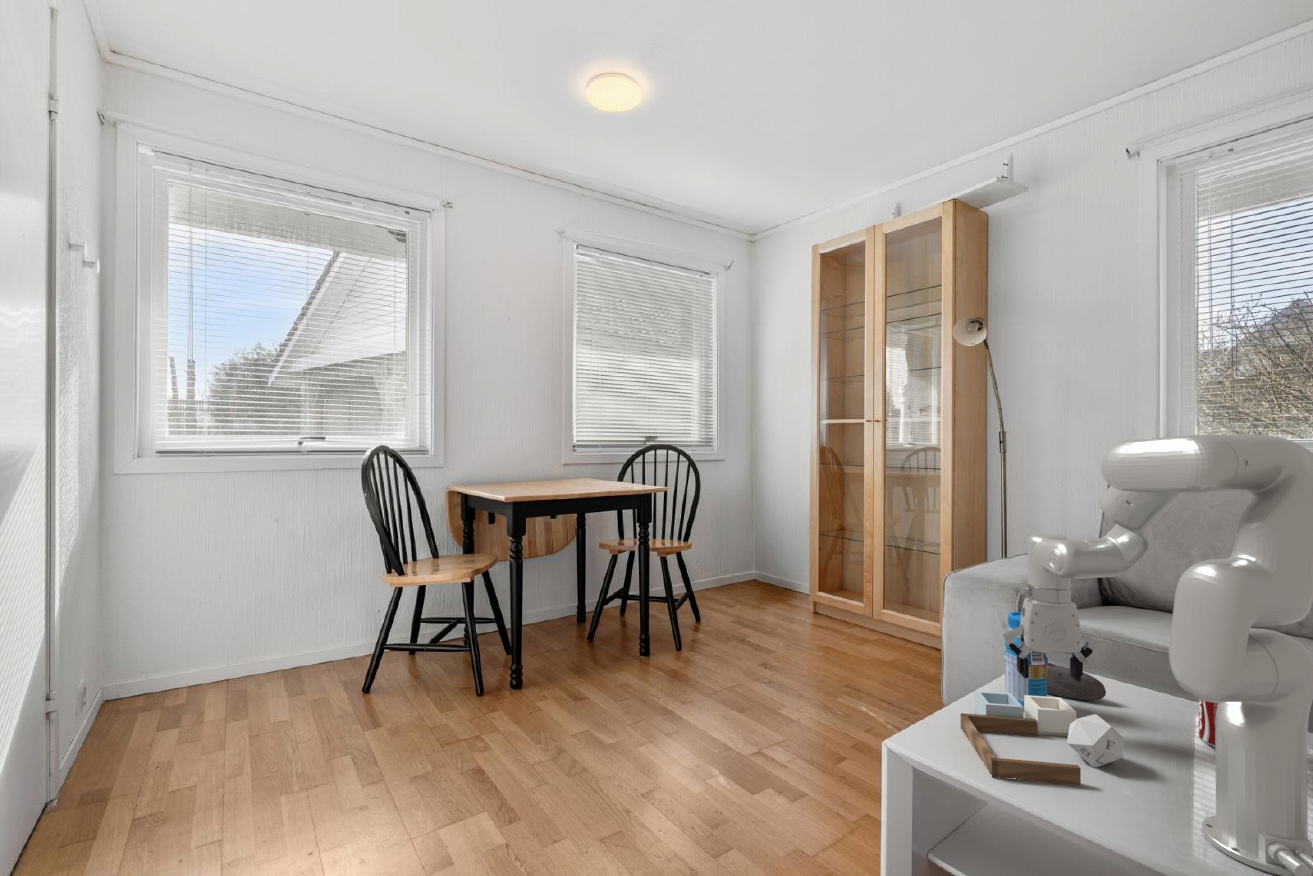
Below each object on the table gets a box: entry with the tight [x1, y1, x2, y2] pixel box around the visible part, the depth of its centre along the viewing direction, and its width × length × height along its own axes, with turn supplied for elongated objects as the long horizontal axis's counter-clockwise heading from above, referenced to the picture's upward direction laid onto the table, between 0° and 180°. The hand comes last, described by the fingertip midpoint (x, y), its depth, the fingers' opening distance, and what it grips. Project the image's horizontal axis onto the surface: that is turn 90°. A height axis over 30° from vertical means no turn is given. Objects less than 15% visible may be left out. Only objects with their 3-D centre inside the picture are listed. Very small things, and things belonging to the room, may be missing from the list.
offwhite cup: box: [1023, 695, 1078, 737], centre depth 127 cm, size 7×7×5 cm
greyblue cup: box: [974, 690, 1024, 718], centre depth 129 cm, size 7×7×5 cm
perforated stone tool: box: [1047, 661, 1107, 702], centre depth 143 cm, size 15×5×7 cm, turn 50°
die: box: [1066, 714, 1124, 768], centre depth 114 cm, size 8×9×10 cm
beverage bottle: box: [1003, 611, 1049, 711], centre depth 138 cm, size 8×8×20 cm
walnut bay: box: [960, 712, 1082, 787], centre depth 117 cm, size 19×14×3 cm
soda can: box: [1198, 699, 1219, 748], centre depth 120 cm, size 7×7×12 cm
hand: (1049, 677), depth 127 cm, fingers open, 9 cm apart
